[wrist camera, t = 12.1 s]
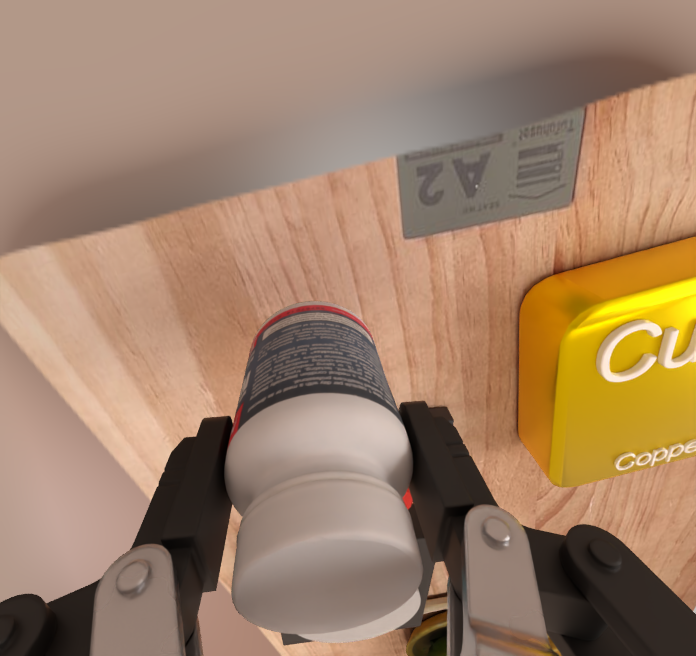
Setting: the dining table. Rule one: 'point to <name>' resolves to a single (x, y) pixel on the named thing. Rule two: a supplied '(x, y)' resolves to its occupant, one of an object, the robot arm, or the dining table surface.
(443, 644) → the tableware set
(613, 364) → the element tile
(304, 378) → the pill bottle
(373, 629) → the scale
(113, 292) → the dining table surface
